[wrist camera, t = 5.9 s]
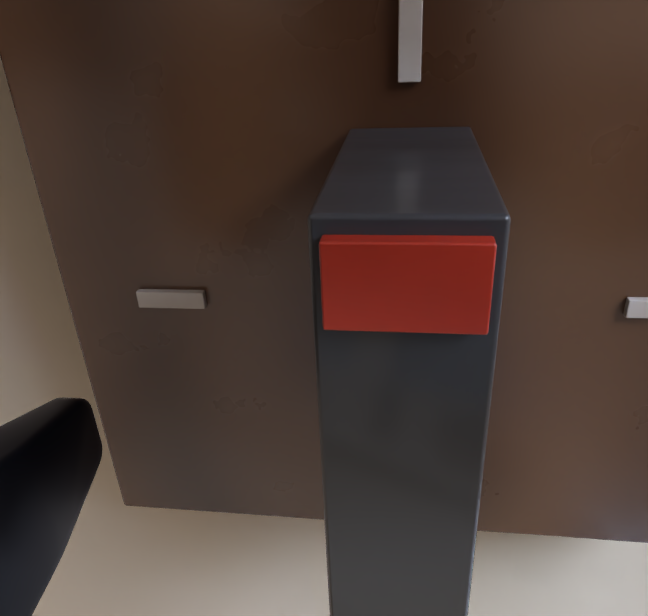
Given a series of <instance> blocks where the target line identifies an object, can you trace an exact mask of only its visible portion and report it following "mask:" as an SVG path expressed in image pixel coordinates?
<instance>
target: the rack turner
mask: <svg viewBox="0 0 648 616" xmlns="http://www.w3.org/2000/svg"><path fill="white" fill-rule="evenodd" d="M307 224H308V242H309V259H310V276H311V294H312V311H313V328H314V346H315V363H316V381H317V398H318V415H319V433H320V450H321V467H322V485H323V502H324V519H325V537H326V554H327V572H328V589H329V606H330V616H468V607H469V598H470V589H471V580H472V571H473V562H474V553H475V543H476V534H477V525H478V516H479V507H480V498H481V489H482V479H483V470H484V461H485V452H486V443H487V434H488V425H489V416H490V406H491V397H492V388H493V379H494V370H495V361H496V352H497V342H498V333H499V324H500V315H501V306H502V297H503V288H504V279H505V269H506V260H507V251H508V242H509V233H510V224H511V218H510V215H509V213H508V210H507V208H506V206H505V204H504V202H503V199H502V197H501V195H500V193H499V190H498V188H497V186H496V184H495V181H494V179H493V177H492V175H491V172H490V170H489V168H488V166H487V163H486V161H485V159H484V157H483V154H482V152H481V150H480V148H479V145H478V143H477V141H476V139H475V136H474V134H473V132H472V130H471V128H470V127H419V128H362V129H351V130H350V131H349V133H348V135H347V137H346V139H345V141H344V143H343V145H342V147H341V149H340V151H339V153H338V155H337V157H336V159H335V161H334V164H333V166H332V168H331V170H330V172H329V174H328V176H327V178H326V180H325V182H324V184H323V186H322V188H321V190H320V192H319V194H318V196H317V198H316V200H315V203H314V205H313V207H312V209H311V211H310V213H309V215H308V218H307Z"/></svg>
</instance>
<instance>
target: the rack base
mask: <svg viewBox="0 0 648 616" xmlns="http://www.w3.org/2000/svg"><path fill="white" fill-rule="evenodd" d="M0 56H1V60H2V63H3V67H4V71H5V74H6V78H7V81H8V85H9V89H10V92H11V96H12V100H13V103H14V107H15V110H16V114H17V118H18V121H19V125H20V128H21V132H22V136H23V139H24V143H25V146H26V150H27V154H28V157H29V161H30V165H31V168H32V172H33V175H34V179H35V183H36V186H37V190H38V193H39V197H40V201H41V204H42V208H43V212H44V215H45V219H46V222H47V226H48V230H49V233H50V237H51V240H52V244H53V248H54V251H55V255H56V258H57V262H58V266H59V269H60V273H61V277H62V280H63V284H64V287H65V291H66V295H67V298H68V302H69V305H70V309H71V313H72V316H73V320H74V323H75V327H76V331H77V334H78V338H79V342H80V345H81V349H82V352H83V356H84V360H85V363H86V367H87V370H88V374H89V378H90V381H91V385H92V388H93V392H94V396H95V399H96V403H97V407H98V410H99V414H100V417H101V421H102V425H103V428H104V432H105V435H106V439H107V443H108V446H109V450H110V453H111V457H112V461H113V464H114V468H115V472H116V475H117V479H118V482H119V486H120V490H121V493H122V497H123V500H124V504H125V505H128V506H142V507H156V508H170V509H184V510H198V511H212V512H226V513H239V514H253V515H267V516H281V517H295V518H309V519H323V520H325V519H324V502H323V485H322V467H321V450H320V433H319V415H318V398H317V381H316V363H315V346H314V328H313V311H312V294H311V276H310V259H309V242H308V224H307V218H308V215H309V213H310V211H311V209H312V207H313V205H314V203H315V200H316V198H317V196H318V194H319V192H320V190H321V188H322V186H323V184H324V182H325V180H326V178H327V176H328V174H329V172H330V170H331V168H332V166H333V164H334V161H335V159H336V157H337V155H338V153H339V151H340V149H341V147H342V145H343V143H344V141H345V139H346V137H347V135H348V133H349V131H350V130H351V129H362V128H419V127H470V128H471V130H472V132H473V134H474V136H475V139H476V141H477V143H478V145H479V148H480V150H481V152H482V154H483V157H484V159H485V161H486V163H487V166H488V168H489V170H490V172H491V175H492V177H493V179H494V181H495V184H496V186H497V188H498V190H499V193H500V195H501V197H502V199H503V202H504V204H505V206H506V208H507V210H508V213H509V215H510V218H511V224H510V233H509V242H508V251H507V260H506V269H505V279H504V288H503V297H502V306H501V315H500V324H499V333H498V342H497V352H496V361H495V370H494V379H493V388H492V397H491V406H490V416H489V425H488V434H487V443H486V452H485V461H484V470H483V479H482V489H481V498H480V507H479V516H478V525H477V531H491V532H505V533H519V534H533V535H547V536H561V537H575V538H589V539H603V540H617V541H631V542H645V543H648V0H0Z"/></svg>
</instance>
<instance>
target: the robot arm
mask: <svg viewBox="0 0 648 616" xmlns="http://www.w3.org/2000/svg"><path fill="white" fill-rule="evenodd" d="M101 456H102V443H101V439H100V435H99V432H98V428H97V425H96V421H95V418H94V414H93V410H92V407H91V405H90V404H89V402H88V401H87V400H85V399H80V398H56V399H54V400H52V401H50V402H48V403H46V404H44V405H42V406H40V407H38V408H36V409H34V410H32V411H30V412H28V413H26V414H24V415H22V416H20V417H18V418H16V419H14V420H12V421H10V422H8V423H6V424H4V425H2V426H0V616H32V614H33V612H34V610H35V608H36V606H37V604H38V602H39V600H40V598H41V597H42V595H43V593H44V591H45V589H46V587H47V585H48V583H49V581H50V579H51V577H52V575H53V573H54V571H55V569H56V567H57V565H58V563H59V561H60V559H61V557H62V555H63V552H64V550H65V548H66V546H67V543H68V541H69V538H70V536H71V533H72V531H73V528H74V526H75V523H76V521H77V518H78V516H79V513H80V511H81V508H82V506H83V504H84V501H85V499H86V496H87V494H88V491H89V489H90V486H91V484H92V481H93V479H94V476H95V474H96V471H97V469H98V466H99V464H100V461H101Z"/></svg>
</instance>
